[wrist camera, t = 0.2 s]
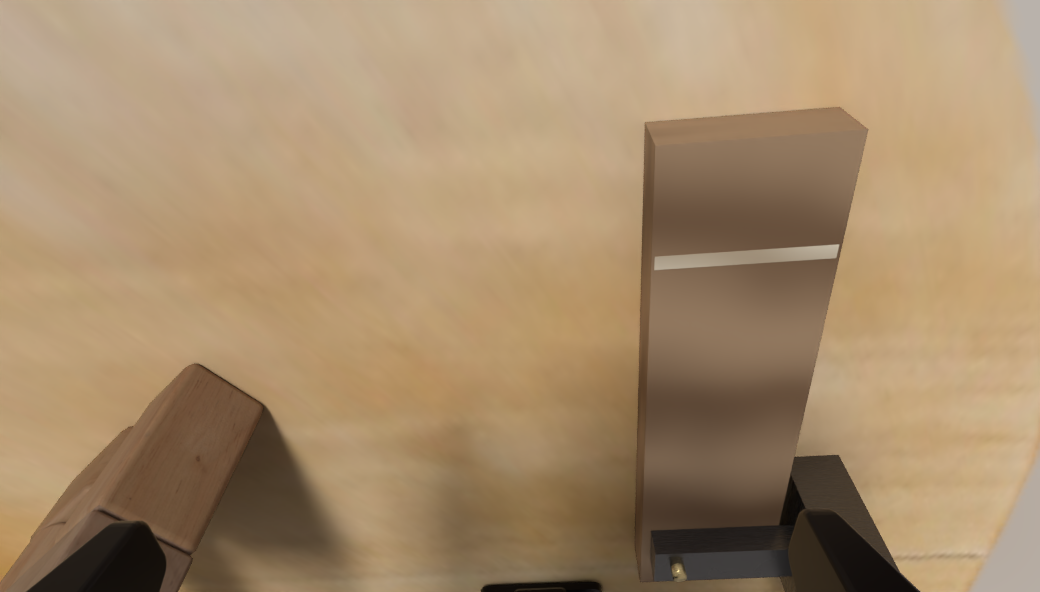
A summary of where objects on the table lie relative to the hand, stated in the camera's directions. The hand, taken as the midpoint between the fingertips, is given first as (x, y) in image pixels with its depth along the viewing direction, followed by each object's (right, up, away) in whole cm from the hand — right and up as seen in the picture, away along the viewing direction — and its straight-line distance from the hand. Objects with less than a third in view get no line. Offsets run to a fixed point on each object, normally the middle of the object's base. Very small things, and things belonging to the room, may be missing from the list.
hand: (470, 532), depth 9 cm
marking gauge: (+11, -7, +22) cm, 25 cm away
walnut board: (+9, 0, +17) cm, 19 cm away
